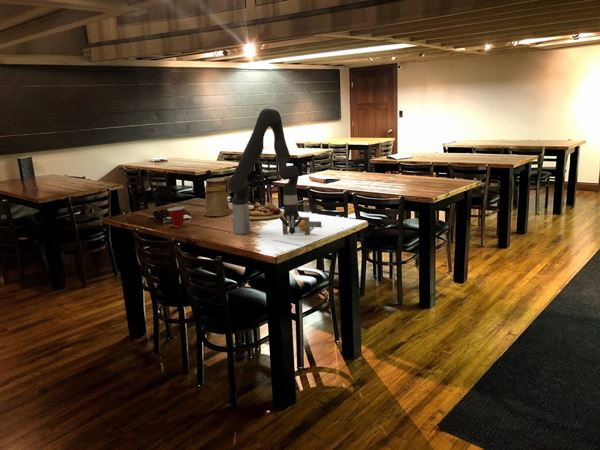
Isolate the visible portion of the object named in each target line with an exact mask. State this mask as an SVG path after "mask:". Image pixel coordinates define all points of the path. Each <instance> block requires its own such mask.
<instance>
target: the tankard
mask: <svg viewBox="0 0 600 450" xmlns="http://www.w3.org/2000/svg"><path fill="white" fill-rule="evenodd" d="M229 180H230V179H229V176H227V175H225V176H223V177H218V178H217V177H216V178H207V179H206V180H205V184H206V185H205V188H204V189H205V190H204V191H205V204H204V205H205V206H204V209H203V216H205V215H206V216H205V217H210V216H217V217H225V215H226V216H229V215H231V214H232V212H231V208H230V206H229V200H228V199H229V196H230V192H231V191H230V189H229V186H228V183H229ZM228 214H229V215H228Z"/></svg>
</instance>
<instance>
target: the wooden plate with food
mask: <svg viewBox="0 0 600 450" xmlns="http://www.w3.org/2000/svg"><path fill="white" fill-rule="evenodd" d="M283 214H284V210H282V209H281V208H280V207H277V206H275V204H272V203H270V202H267V203H265V204H264V206H262V204H261V203H260V202H258V201H256V202H255V203H254V204H253V207H252V208H250V207H249V219H250V222H266V221H274V220H278V219H279V220H280V218H281V217H282V216H284V215H283Z"/></svg>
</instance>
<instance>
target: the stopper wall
mask: <svg viewBox="0 0 600 450" xmlns="http://www.w3.org/2000/svg"><path fill="white" fill-rule="evenodd" d="M297 221H298V220H295V224H296V223H297ZM309 222H310V227H314V228H322V221H311V220H309ZM296 227H299V226H296Z"/></svg>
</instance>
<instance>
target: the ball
mask: <svg viewBox="0 0 600 450" xmlns="http://www.w3.org/2000/svg"><path fill="white" fill-rule="evenodd" d="M298 226H299V228H300V229H301V230H305V220H301V222H300V223H299V224H298Z"/></svg>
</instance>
